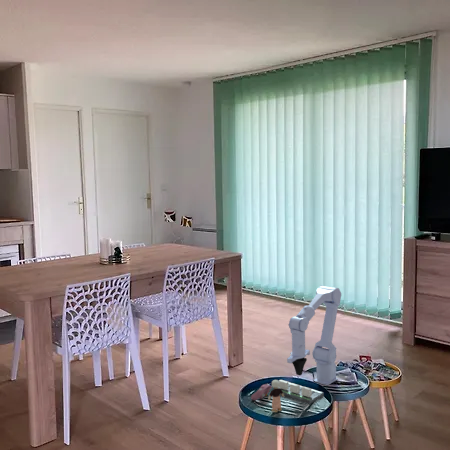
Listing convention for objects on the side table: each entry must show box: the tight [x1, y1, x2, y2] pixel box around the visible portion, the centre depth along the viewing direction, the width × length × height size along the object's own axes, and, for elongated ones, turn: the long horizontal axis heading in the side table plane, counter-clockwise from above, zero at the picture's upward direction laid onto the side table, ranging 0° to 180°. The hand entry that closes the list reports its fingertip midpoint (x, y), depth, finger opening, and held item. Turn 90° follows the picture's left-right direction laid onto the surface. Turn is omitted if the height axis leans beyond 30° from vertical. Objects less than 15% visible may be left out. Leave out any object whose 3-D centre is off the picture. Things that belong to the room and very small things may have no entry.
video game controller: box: [250, 383, 273, 401], centre depth 220 cm, size 10×5×7 cm, turn 145°
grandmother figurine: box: [267, 379, 285, 413], centre depth 207 cm, size 8×4×13 cm, turn 131°
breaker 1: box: [278, 379, 289, 390], centre depth 225 cm, size 2×4×3 cm, turn 48°
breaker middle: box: [290, 382, 301, 394], centre depth 221 cm, size 2×4×3 cm, turn 48°
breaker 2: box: [302, 386, 313, 397], centre depth 217 cm, size 2×4×3 cm, turn 48°
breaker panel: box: [278, 381, 325, 405], centre depth 223 cm, size 11×19×2 cm, turn 48°
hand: (299, 374), depth 223 cm, fingers closed
